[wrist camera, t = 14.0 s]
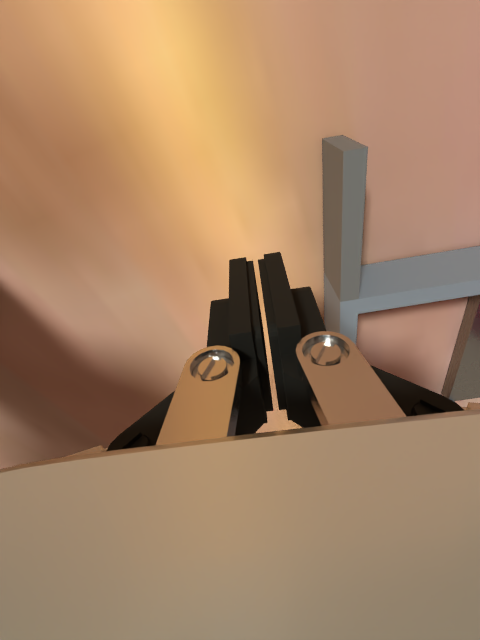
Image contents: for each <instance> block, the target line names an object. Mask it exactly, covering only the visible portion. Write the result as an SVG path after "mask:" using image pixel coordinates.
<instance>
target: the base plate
mask: <svg viewBox="0 0 480 640" xmlns="http://www.w3.org/2000/svg"><path fill="white" fill-rule="evenodd" d="M442 394H443V396H444V397H446V398H448V399H450V400H452V401H458V400H465V399H472V398H479V397H480V295H474V296H470V297H469V300H468V304H467V307H466V311H465V314H464V317H463V321H462V324H461V328H460V331H459V335H458V338H457V342H456V345H455V348H454V352H453V355H452V359H451V362H450V366H449V369H448V373H447V376H446V379H445V383H444V386H443V390H442Z"/></svg>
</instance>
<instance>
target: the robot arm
mask: <svg viewBox="0 0 480 640" xmlns="http://www.w3.org/2000/svg"><path fill="white" fill-rule="evenodd" d="M258 264H259V271H260V278H261V285H262V292H263V299H264V306H265V313H266V321H267V328H268V335H269V342H270V349H271V356H272V363H273V370H274V377H275V384H276V391H277V398H278V405H279V410H283V409H286V410H287V417H288V420H292V421H293V422H295V423H297V424H298V425H300V426H301V427H302V428H300V429H291V430H282V431H273V432H264V433H256V431H257V430H258V429H259V428H260V427H261V426H262V425H263V424H264V423H267V413H266V411H273V404H272V396H271V388H270V380H269V372H268V364H267V356H266V348H265V340H264V332H263V325H262V318H261V312H260V305H259V299H258V292H257V285H256V279H255V272H254V265H253V261H246V257H245V258H238V259H232V260H230V261H229V298H228V299H221V300H214V301H211V307H210V318H209V329H208V340H207V347H206V348H203V349H201V350H199V351H197V352H196V353H194V354H193V355H192V356H191V357H190V358H189V359H188V360H187V362H186V363H185V365H184V368H183V371H182V373H181V376H180V379H179V382H178V384H177V387H176V390H175V391H174V392H173V393H171V394H170V395H169V396H168V397H166V398H165V399H164V400H163V401H161V402H160V403H159V404H158V405H156V406H155V407H154V408H153V409H151V410H150V411H149V412H148V413H146V414H145V415H144V416H143V417H141V418H140V419H139V420H138V421H136V422H135V423H134V424H133V425H131V426H130V427H129V428H127V429H126V430H125V431H124V432H122V433H121V434H120V435H119V436H118V437H117V438H116V439H115V440H114V441H113V442H112V443H111V444H110V446H109V447H108V448H105V449H104V448H103V447H102V445H99V446H96V447H93V448H90V449H87V450H84V451H81V452H78V453H74V454H71V455H68V456H65V457H61V458H55V459H49V460H43V461H37V462H31V463H25V464H20V465H16V466H12V467H8V468H4V469H0V640H480V403H470V402H468V405H467V407H460V406H459V405H458V404H457V403H455V402H454V401H452V400H450V399H448V398H446V397H444V396H442V395H439V394H437V393H435V392H432V391H430V390H428V389H425V388H423V387H420V386H418V385H416V384H413V383H411V382H409V381H406V380H404V379H401V378H399V377H397V376H394V375H392V374H390V373H387V372H385V371H382V370H380V369H378V368H375V367H373V366H371V365H369V363H368V362H367V361H366V359H365V358H364V356H363V355H362V354H361V352H360V351H359V349H358V348H357V347H356V345H355V344H354V343H353V342H352V341H351V340H350V339H349V338H348V337H346V336H344V335H343V334H340V333H336V332H331V331H326V328H325V325H324V323H323V320H322V317H321V315H320V312H319V309H318V306H317V304H316V301H315V298H314V296H313V293H312V290H311V288H310V287H303V288H296V289H290V285H289V282H288V278H287V275H286V271H285V267H284V264H283V260H282V256H281V253H280V252H277V253H270V254H264V259H260V260H258Z"/></svg>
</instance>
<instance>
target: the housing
mask: <svg viewBox="0 0 480 640" xmlns="http://www.w3.org/2000/svg"><path fill="white" fill-rule="evenodd" d="M367 154H368V147H367V146H365V145H363V144H360V143H358V142H356V141H354V140H352V139H350V138H348V137H346V136H343V135H340V136H334V137H329V138H324V139H322V162H323V241H324V320H325V328H326V331H331V332H336V333H340V334H343V335H344V336H346V337H348V338H349V339H350V340H351V341H352V342H353V343H354V344H355V345H356V338H357V321H358V314H360V313H367V312H373V311H379V310H386V309H392V308H398V307H405V306H411V305H417V304H424V303H430V302H436V301H442V300H449V299H455V298H461V297H468V296H474V295H480V246H476V247H470V248H464V249H458V250H452V251H446V252H440V253H434V254H428V255H422V256H416V257H410V258H404V259H398V260H391V261H385V262H379V263H373V264H367V265H361V254H362V237H363V221H364V204H365V187H366V171H367ZM454 402H455V401H454Z"/></svg>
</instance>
